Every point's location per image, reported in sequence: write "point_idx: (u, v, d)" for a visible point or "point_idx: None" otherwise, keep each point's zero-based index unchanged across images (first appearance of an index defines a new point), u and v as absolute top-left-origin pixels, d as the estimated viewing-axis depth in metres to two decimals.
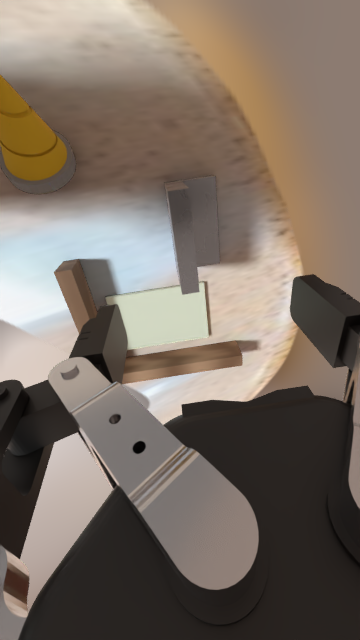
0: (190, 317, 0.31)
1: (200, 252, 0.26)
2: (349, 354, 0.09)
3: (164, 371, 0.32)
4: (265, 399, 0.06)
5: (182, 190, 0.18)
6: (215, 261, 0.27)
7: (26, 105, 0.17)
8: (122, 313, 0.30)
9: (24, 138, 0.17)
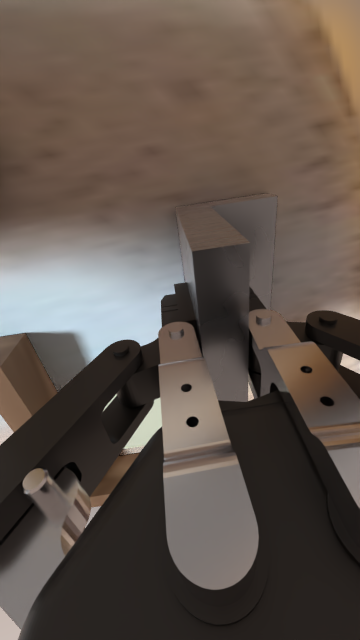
0: None
1: None
2: None
3: None
4: (265, 399, 0.06)
5: (231, 248, 0.07)
6: None
7: None
8: None
9: None
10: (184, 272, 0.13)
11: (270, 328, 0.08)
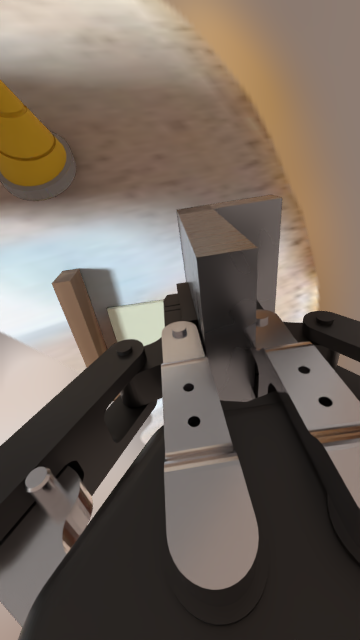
0: None
1: None
2: None
3: None
4: (266, 399, 0.06)
5: (238, 254, 0.06)
6: None
7: (20, 104, 0.15)
8: (124, 325, 0.28)
9: (17, 140, 0.16)
10: (186, 276, 0.13)
11: (267, 328, 0.08)
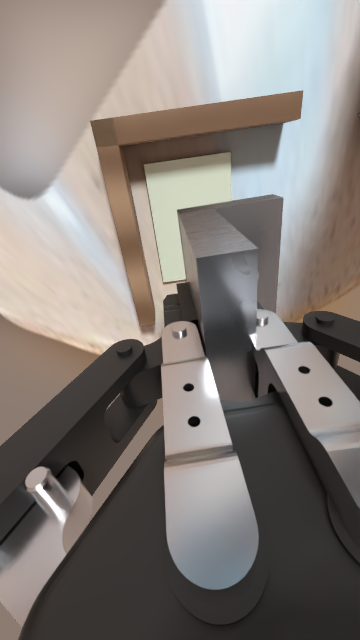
0: None
1: None
2: None
3: (129, 234, 0.23)
4: (265, 399, 0.06)
5: (238, 255, 0.06)
6: None
7: None
8: (205, 173, 0.23)
9: None
10: (186, 276, 0.13)
11: (267, 328, 0.08)
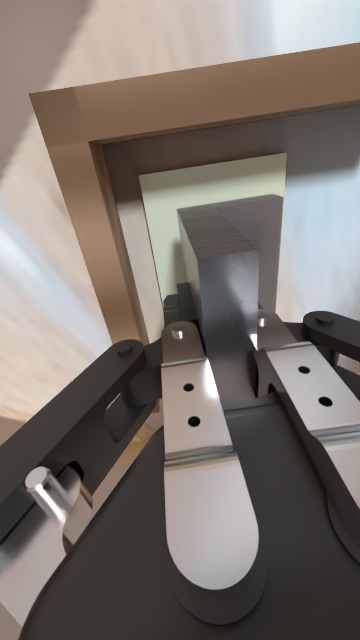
0: None
1: None
2: None
3: (115, 292, 0.14)
4: (265, 399, 0.06)
5: (239, 256, 0.06)
6: None
7: None
8: (243, 189, 0.14)
9: None
10: (186, 276, 0.13)
11: (267, 328, 0.08)
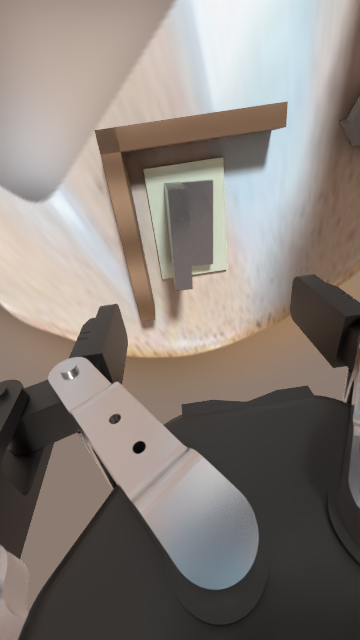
0: None
1: (194, 252, 0.28)
2: (349, 354, 0.09)
3: (130, 233, 0.25)
4: (265, 399, 0.06)
5: (181, 190, 0.19)
6: (208, 262, 0.28)
7: None
8: (200, 177, 0.25)
9: None
10: (167, 217, 0.25)
11: None
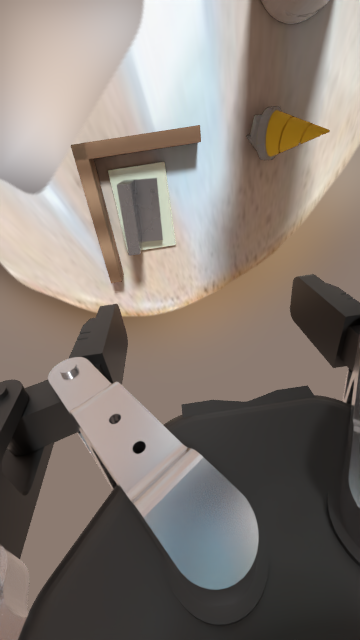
0: None
1: (148, 231, 0.38)
2: (349, 354, 0.09)
3: (99, 216, 0.35)
4: (265, 399, 0.06)
5: (125, 185, 0.29)
6: (159, 238, 0.38)
7: (301, 143, 0.31)
8: (149, 175, 0.35)
9: (290, 137, 0.30)
10: None
11: None
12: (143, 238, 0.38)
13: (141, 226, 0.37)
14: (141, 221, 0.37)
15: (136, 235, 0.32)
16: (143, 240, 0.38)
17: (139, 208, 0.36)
